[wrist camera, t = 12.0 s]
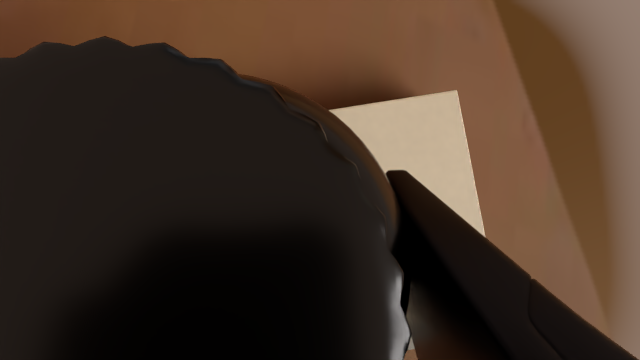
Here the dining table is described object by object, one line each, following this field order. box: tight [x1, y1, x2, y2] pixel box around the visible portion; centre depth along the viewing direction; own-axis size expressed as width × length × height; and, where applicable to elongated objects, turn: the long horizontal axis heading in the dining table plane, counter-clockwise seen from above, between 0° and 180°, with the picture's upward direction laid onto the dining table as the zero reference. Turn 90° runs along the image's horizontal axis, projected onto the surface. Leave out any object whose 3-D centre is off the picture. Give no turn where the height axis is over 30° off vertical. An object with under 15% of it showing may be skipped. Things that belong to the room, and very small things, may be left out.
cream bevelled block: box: [329, 90, 485, 350], centre depth 18 cm, size 11×17×3 cm, turn 100°
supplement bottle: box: [0, 36, 412, 360], centre depth 9 cm, size 7×7×12 cm
